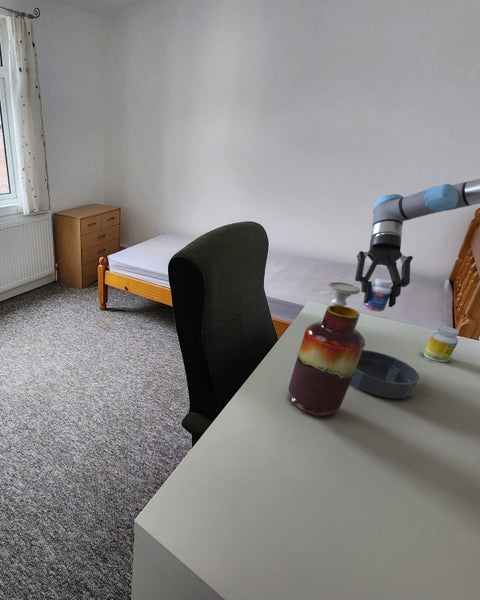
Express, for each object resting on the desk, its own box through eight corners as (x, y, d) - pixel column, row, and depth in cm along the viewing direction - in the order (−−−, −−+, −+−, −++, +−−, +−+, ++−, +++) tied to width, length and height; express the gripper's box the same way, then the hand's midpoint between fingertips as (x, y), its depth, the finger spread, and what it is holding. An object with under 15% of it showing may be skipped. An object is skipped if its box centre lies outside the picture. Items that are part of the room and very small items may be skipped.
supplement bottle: (428, 350, 104) (441, 323, 100) (451, 359, 100) (466, 331, 96) (419, 355, 102) (432, 327, 98) (442, 364, 98) (457, 336, 94)
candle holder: (303, 337, 113) (320, 280, 104) (332, 338, 111) (352, 281, 103) (315, 351, 105) (335, 291, 96) (347, 353, 103) (369, 293, 95)
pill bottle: (367, 311, 107) (377, 282, 103) (359, 304, 112) (368, 276, 108) (387, 312, 106) (399, 283, 102) (378, 305, 110) (389, 277, 106)
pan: (380, 364, 98) (387, 349, 96) (428, 400, 85) (436, 384, 82) (327, 364, 99) (332, 350, 97) (365, 400, 85) (372, 384, 83)
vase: (347, 423, 78) (388, 325, 67) (294, 417, 80) (326, 320, 69) (325, 392, 88) (358, 301, 77) (279, 387, 90) (305, 298, 79)
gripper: (417, 247, 110) (412, 313, 103) (347, 242, 118) (339, 302, 112) (429, 235, 103) (425, 304, 97) (354, 230, 111) (346, 293, 105)
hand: (379, 303), depth 104 cm, fingers closed on pill bottle, 5 cm apart
